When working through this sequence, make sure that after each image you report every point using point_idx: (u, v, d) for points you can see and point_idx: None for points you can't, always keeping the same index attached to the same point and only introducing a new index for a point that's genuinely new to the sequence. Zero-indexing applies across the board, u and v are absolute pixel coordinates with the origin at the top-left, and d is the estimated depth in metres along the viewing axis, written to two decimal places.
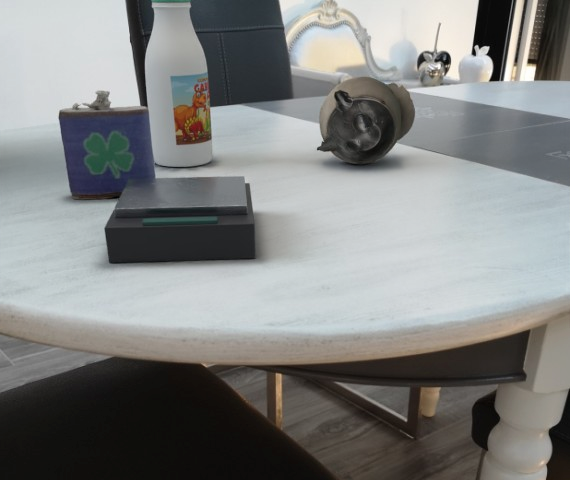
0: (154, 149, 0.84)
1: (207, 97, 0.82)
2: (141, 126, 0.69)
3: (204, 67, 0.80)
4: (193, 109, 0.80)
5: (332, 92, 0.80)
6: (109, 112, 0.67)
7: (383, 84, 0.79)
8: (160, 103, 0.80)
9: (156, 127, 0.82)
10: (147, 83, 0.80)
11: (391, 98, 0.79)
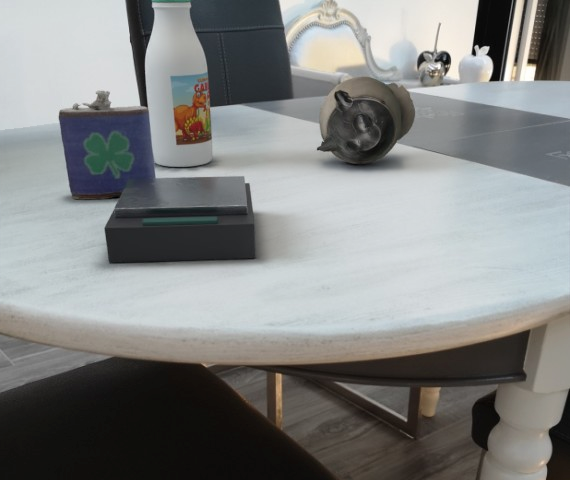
0: (154, 149, 0.84)
1: (207, 97, 0.82)
2: (142, 126, 0.69)
3: (204, 67, 0.80)
4: (193, 109, 0.80)
5: (332, 92, 0.80)
6: (109, 112, 0.67)
7: (383, 84, 0.79)
8: (160, 103, 0.80)
9: (156, 127, 0.82)
10: (147, 83, 0.80)
11: (391, 98, 0.79)
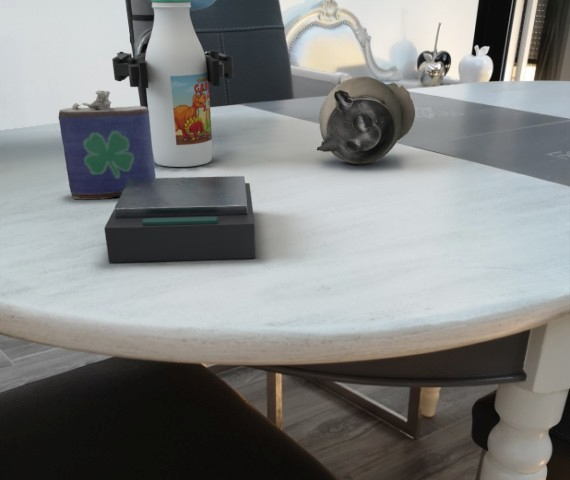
0: (154, 149, 0.84)
1: (207, 97, 0.82)
2: (142, 126, 0.69)
3: (204, 67, 0.80)
4: (193, 109, 0.80)
5: (332, 92, 0.80)
6: (109, 112, 0.67)
7: (383, 84, 0.79)
8: (160, 103, 0.80)
9: (156, 127, 0.82)
10: None
11: (391, 98, 0.79)
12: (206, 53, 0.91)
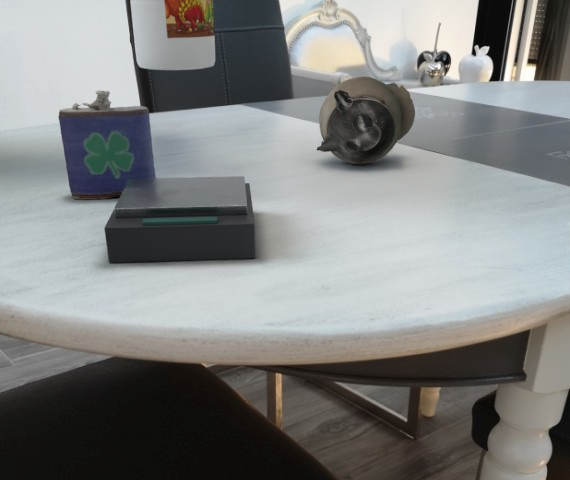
0: (138, 47, 0.63)
1: None
2: (142, 126, 0.69)
3: None
4: None
5: (332, 92, 0.80)
6: (109, 112, 0.67)
7: (383, 84, 0.79)
8: None
9: (140, 14, 0.61)
10: None
11: (391, 98, 0.79)
12: None
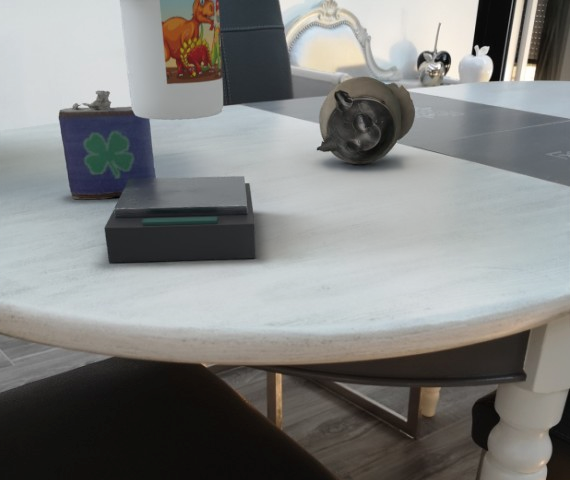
0: (133, 92, 0.53)
1: (215, 7, 0.52)
2: (142, 126, 0.69)
3: None
4: (194, 25, 0.50)
5: (332, 92, 0.80)
6: (109, 112, 0.67)
7: (383, 84, 0.79)
8: (141, 14, 0.50)
9: (135, 55, 0.51)
10: None
11: (391, 98, 0.79)
12: None
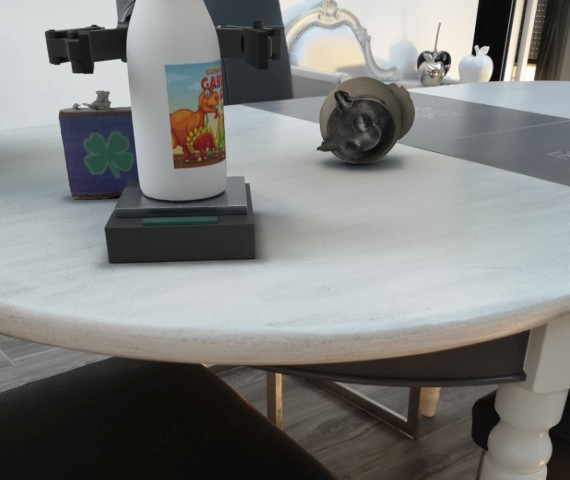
0: (141, 174, 0.57)
1: (220, 97, 0.55)
2: None
3: (216, 52, 0.53)
4: (199, 115, 0.53)
5: (332, 92, 0.80)
6: (109, 112, 0.67)
7: (383, 84, 0.79)
8: (149, 106, 0.53)
9: (144, 142, 0.55)
10: (130, 76, 0.53)
11: (391, 98, 0.79)
12: (220, 28, 0.64)
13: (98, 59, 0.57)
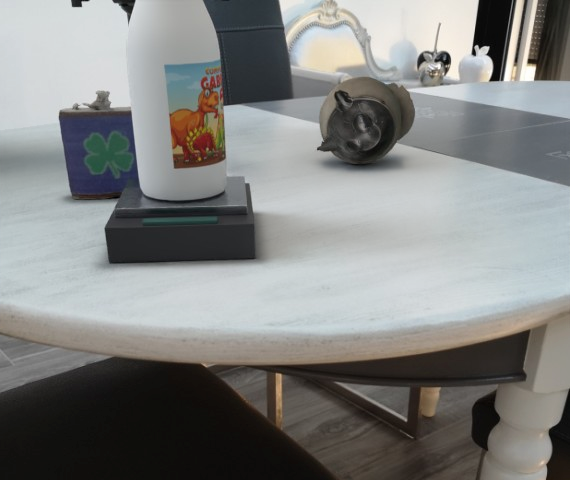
0: (141, 174, 0.57)
1: (219, 96, 0.55)
2: None
3: (216, 52, 0.53)
4: (199, 115, 0.53)
5: (332, 92, 0.80)
6: (109, 112, 0.67)
7: (383, 84, 0.79)
8: (149, 106, 0.53)
9: (144, 142, 0.55)
10: (130, 76, 0.53)
11: (391, 98, 0.79)
12: None
13: None
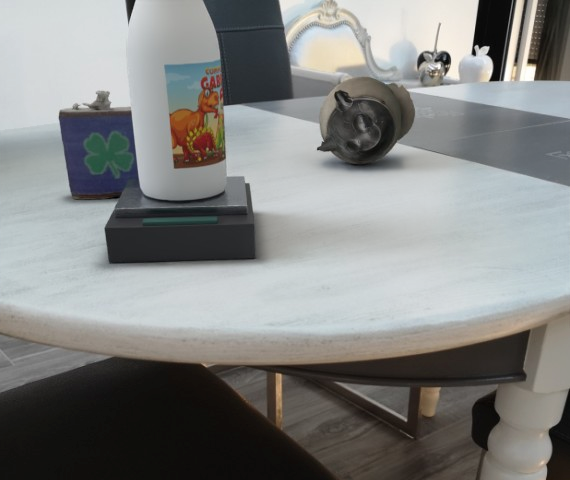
0: (141, 174, 0.57)
1: (219, 96, 0.55)
2: None
3: (216, 52, 0.53)
4: (199, 115, 0.53)
5: (332, 92, 0.80)
6: (109, 112, 0.67)
7: (383, 84, 0.79)
8: (149, 106, 0.53)
9: (144, 142, 0.55)
10: (130, 76, 0.53)
11: (391, 98, 0.79)
12: None
13: None
